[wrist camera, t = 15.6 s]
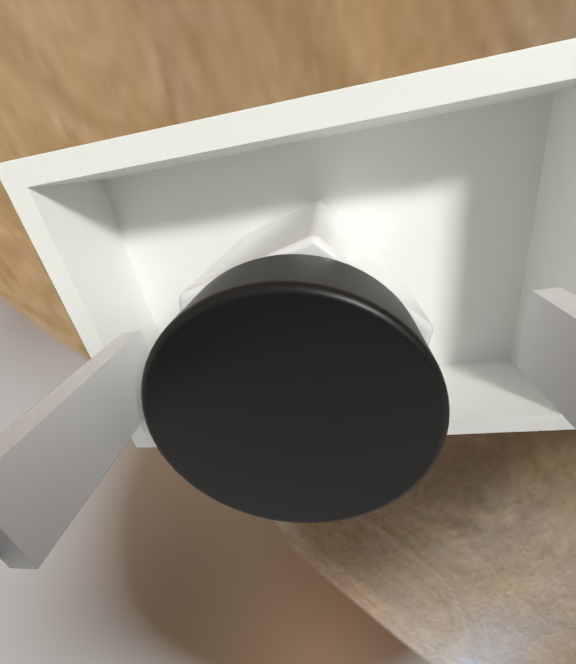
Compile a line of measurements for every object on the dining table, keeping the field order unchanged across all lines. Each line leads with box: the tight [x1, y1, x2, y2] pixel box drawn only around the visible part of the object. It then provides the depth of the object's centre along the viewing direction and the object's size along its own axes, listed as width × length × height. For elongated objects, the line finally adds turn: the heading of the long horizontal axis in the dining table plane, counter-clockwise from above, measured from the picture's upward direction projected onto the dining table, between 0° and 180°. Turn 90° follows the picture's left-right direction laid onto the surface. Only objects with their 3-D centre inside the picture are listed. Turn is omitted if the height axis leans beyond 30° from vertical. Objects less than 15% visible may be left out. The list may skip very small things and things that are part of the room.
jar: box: [141, 201, 450, 523], centre depth 14 cm, size 9×8×12 cm
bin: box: [0, 38, 576, 448], centre depth 17 cm, size 24×16×6 cm, turn 99°
